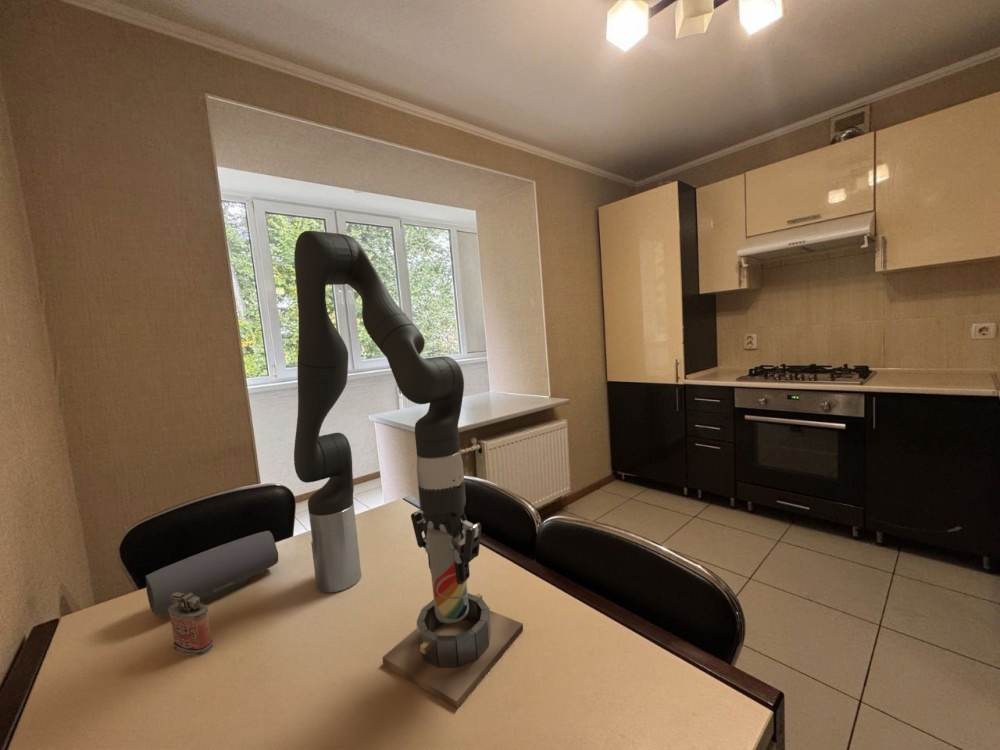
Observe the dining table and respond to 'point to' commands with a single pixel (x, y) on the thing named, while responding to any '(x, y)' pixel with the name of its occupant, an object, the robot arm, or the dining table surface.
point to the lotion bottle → (445, 576)
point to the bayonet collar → (456, 647)
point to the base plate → (452, 681)
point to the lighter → (190, 624)
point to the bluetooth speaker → (212, 571)
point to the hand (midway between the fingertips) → (449, 576)
